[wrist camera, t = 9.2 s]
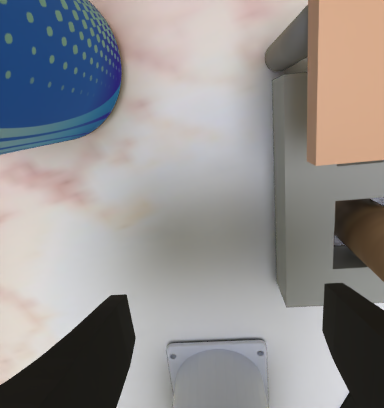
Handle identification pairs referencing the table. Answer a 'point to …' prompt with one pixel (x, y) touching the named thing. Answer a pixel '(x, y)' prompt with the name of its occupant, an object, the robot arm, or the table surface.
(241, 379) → the robot arm
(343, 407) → the sushi
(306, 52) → the raised peach slab
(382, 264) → the peg
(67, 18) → the beer can
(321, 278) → the socket plate
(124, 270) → the table surface
